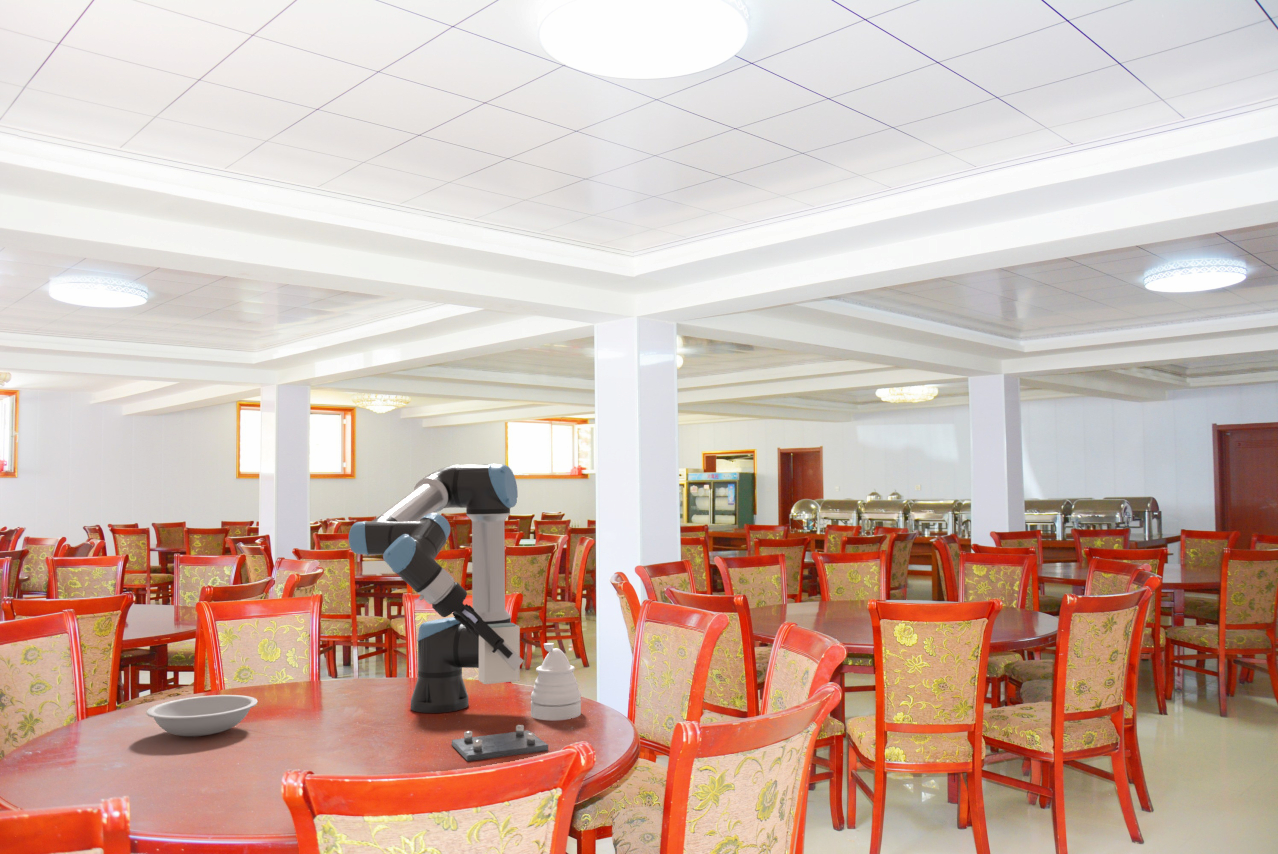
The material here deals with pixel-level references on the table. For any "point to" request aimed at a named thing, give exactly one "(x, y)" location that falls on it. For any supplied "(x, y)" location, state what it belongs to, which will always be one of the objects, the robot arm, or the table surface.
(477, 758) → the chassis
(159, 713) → the soup bowl
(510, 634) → the block
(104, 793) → the table surface
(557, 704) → the honey pot
